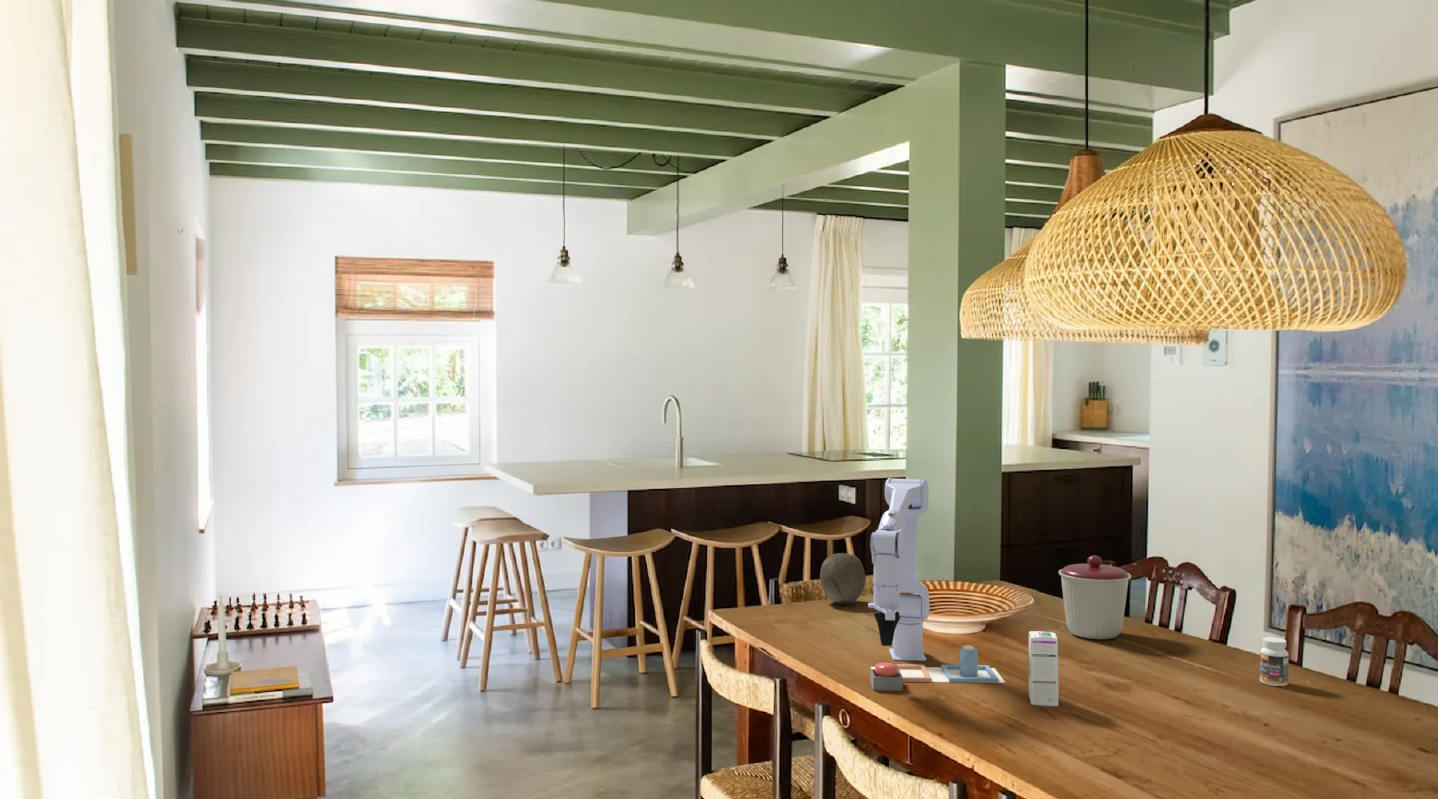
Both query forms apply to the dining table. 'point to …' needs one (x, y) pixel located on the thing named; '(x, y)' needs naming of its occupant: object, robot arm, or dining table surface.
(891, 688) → the button base
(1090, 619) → the canister
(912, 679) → the region terracotta
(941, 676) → the sheet
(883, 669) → the button
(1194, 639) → the dining table surface
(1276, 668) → the pill bottle
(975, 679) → the region blue
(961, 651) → the blue cylinder
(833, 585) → the grey boulder
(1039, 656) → the syrup box
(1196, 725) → the dining table surface
